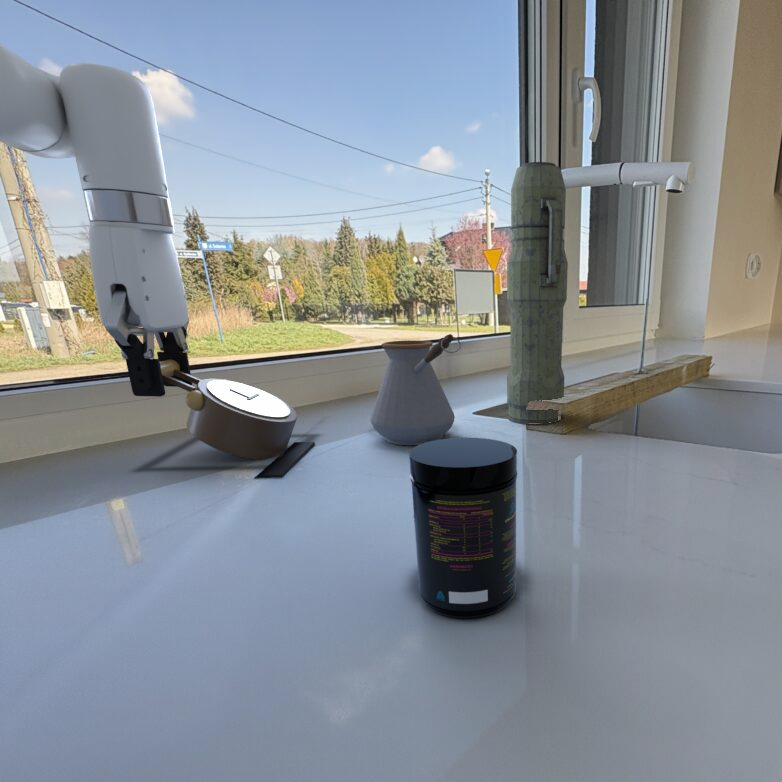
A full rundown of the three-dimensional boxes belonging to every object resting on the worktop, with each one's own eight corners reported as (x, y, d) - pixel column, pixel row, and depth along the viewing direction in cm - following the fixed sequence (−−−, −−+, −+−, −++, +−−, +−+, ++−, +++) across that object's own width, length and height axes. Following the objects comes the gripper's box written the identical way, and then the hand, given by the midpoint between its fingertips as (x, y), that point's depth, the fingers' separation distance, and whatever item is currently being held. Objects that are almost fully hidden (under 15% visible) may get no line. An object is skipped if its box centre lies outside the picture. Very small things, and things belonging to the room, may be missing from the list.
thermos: (539, 408, 97) (543, 174, 84) (579, 422, 88) (590, 160, 75) (493, 414, 93) (490, 169, 80) (530, 429, 84) (533, 154, 71)
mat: (142, 480, 62) (141, 477, 62) (200, 446, 75) (199, 443, 75) (282, 477, 63) (281, 474, 63) (315, 444, 76) (314, 441, 76)
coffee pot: (363, 433, 81) (351, 324, 76) (438, 425, 86) (433, 321, 81) (409, 475, 64) (399, 336, 58) (501, 461, 69) (500, 332, 63)
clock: (115, 408, 61) (126, 362, 59) (167, 390, 71) (178, 351, 69) (267, 469, 64) (281, 428, 62) (296, 444, 74) (309, 407, 73)
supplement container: (506, 569, 43) (505, 434, 39) (527, 616, 37) (528, 463, 33) (416, 578, 42) (406, 440, 38) (422, 629, 36) (411, 470, 32)
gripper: (138, 222, 67) (167, 378, 73) (33, 202, 51) (83, 404, 57) (204, 225, 67) (227, 380, 74) (121, 206, 51) (160, 406, 58)
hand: (164, 389), depth 65 cm, fingers closed on clock, 5 cm apart
